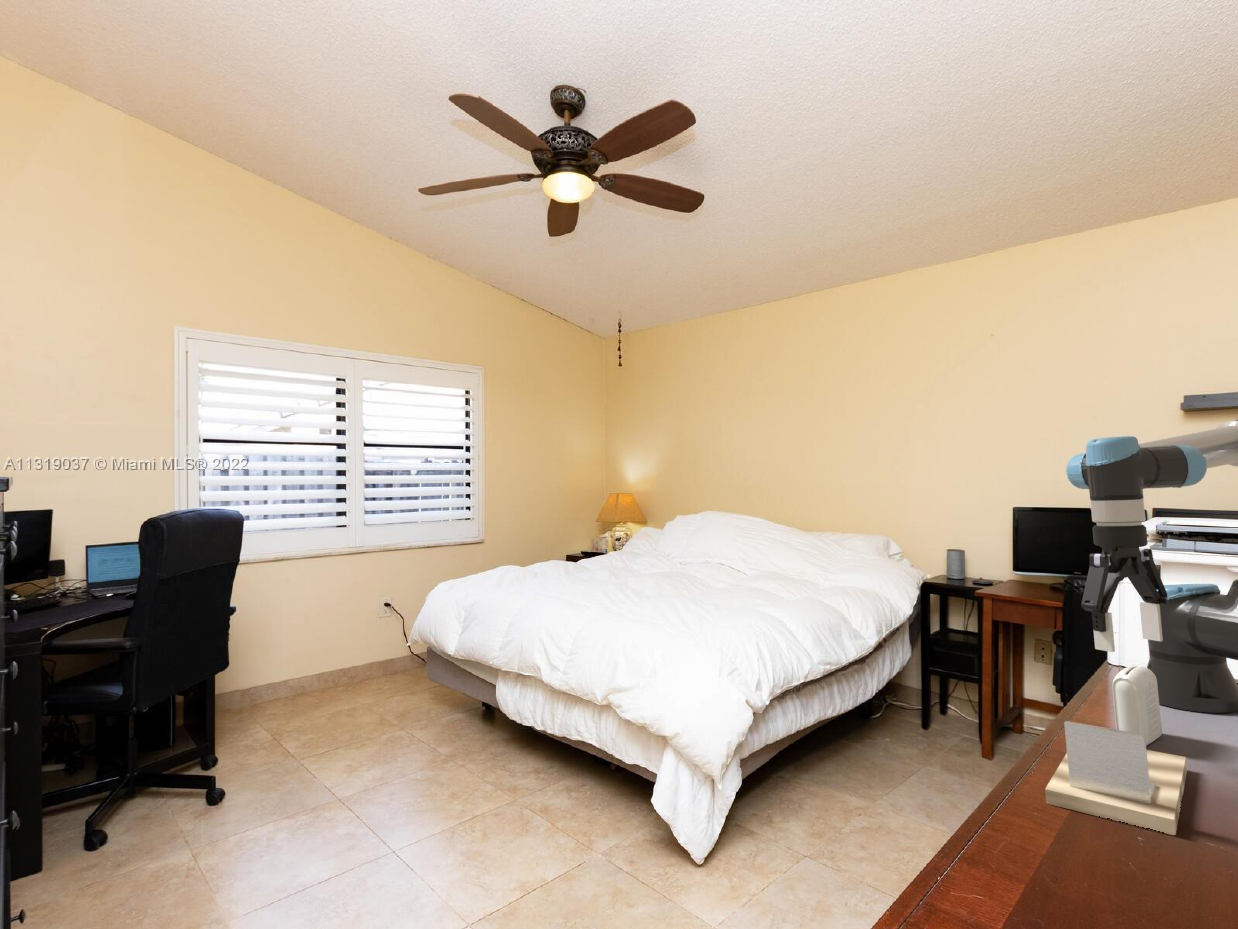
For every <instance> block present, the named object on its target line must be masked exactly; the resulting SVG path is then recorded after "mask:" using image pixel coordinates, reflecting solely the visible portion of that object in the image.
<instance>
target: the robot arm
mask: <svg viewBox="0 0 1238 929" xmlns="http://www.w3.org/2000/svg"><path fill="white" fill-rule="evenodd" d="M1138 440H1139V439H1138V438H1137V437H1136V436H1133V435H1131V436H1130V435H1128V436H1127V435H1126V436H1125V435H1123V436H1122V435H1121V436H1112V437H1111V436H1110V437H1101V438H1099V437H1098V438H1093V439H1091V440H1089V441H1087V443H1086V444H1085V446H1086V447H1085V452H1084V453H1078V454H1075V455H1073V457H1071V458H1069V460H1068V462H1067V465H1066V471H1065V472H1066V476H1067V479H1068V481H1069V482H1070V484H1072V485H1073V486H1074V487H1076V488H1077V489H1081V490H1088V491H1089V500H1090V505H1089V506H1090V507H1089V508H1090V511H1091V521H1092V522H1093V523H1096V524H1095V525H1093V526H1092V537H1093V539H1092V540H1093V544H1094V545H1095V546H1097V547H1100V548H1101V553H1090V554H1089V556H1088V557H1089V568H1088V573H1087V577H1086V581H1085V585H1084V586H1085V587H1084V590H1083V596H1082V600H1081V604H1080V605H1081V609H1083V610H1084V611H1088V612H1090V613H1091V620H1092V621H1091V622H1092V628H1093V639H1094V640H1093V642H1094V649H1095V650H1099V651H1103V652H1109V653H1115V652H1116V648H1115V637H1114V626H1113V623H1114V622H1113V615H1112V612H1108V611H1109V608H1110V607H1111V604H1112V601H1113V598H1114V597H1115V593H1116V591H1117V589H1118V586H1119V584H1120V582H1123V581H1124V579H1126V578H1128V581H1130V583H1131V584H1132V586H1133V588H1134V589H1135V590H1136V592H1137V594H1138V595H1139V596H1140V598H1141V599H1142V601H1141V602H1139V609H1140V610H1139V611H1140V621H1141V630H1142V632H1141V633H1142V639H1143V640H1147V643H1148V645H1147V646H1148V652H1149V653H1148V654H1149V655H1148V656H1149V657H1148V658H1149V659H1148V662H1147V666H1146V668H1148V669H1149V670H1151V671H1152V672H1153V673H1154V674H1155V676H1156V679H1157V686H1158V696H1159V705H1161V706H1166V707H1169V708H1174V709H1179V710H1184V711H1190V712H1200V713H1215V714H1222V713H1223V714H1225V713H1227V714H1228V713H1229V714H1230V713H1237V712H1238V683H1237V682H1236V680H1235V678H1234V676H1233V674H1232V671H1231V669H1230V668H1229V665H1228V660H1227V659H1230V660H1234V661H1238V578H1235V579H1233V581H1232V583H1231V585H1230V587H1229V590H1228V592H1227V594H1224V593H1223V594H1221V590H1220V589H1219V586H1218V585H1217V584H1215V583H1214V584H1213V583H1178V584H1164V583H1163V580H1162V577H1161V575H1160V572H1159V571H1158V568H1157V566H1156V563H1155V560H1154V556H1153V554H1154V553H1153V550H1152V548H1143V547H1147V545H1148V532H1147V526H1145V524H1143V523H1145V521H1146V520H1147V519H1146V511H1145V510H1146V509H1145V501H1144V500H1145V499H1144V489H1164V488H1165V489H1167V488H1168V489H1169V488H1173V489H1174V488H1178V489H1180V488H1181V489H1182V488H1183V487H1191V486H1193V485H1194V486H1195V485H1196V484H1198V483H1199V482H1201V481H1202V480H1203V479H1204V477H1205V476H1206V474H1207V469H1212V468H1216V467H1221V466H1225V465H1229V466H1232V467H1238V419H1235V420H1229V421H1225V422H1223V423H1220V424H1219V425H1218V426H1217V427H1216V428H1214V429H1213V428H1212V429H1208V430H1203V431H1199V432H1193V433H1188V434H1182V435H1178V436H1172V437H1167V438H1161V439H1156V440H1152V441H1146V442H1142V443H1139V441H1138Z"/></svg>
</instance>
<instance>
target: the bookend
mask: <svg viewBox="0 0 1238 929" xmlns="http://www.w3.org/2000/svg"><path fill="white" fill-rule="evenodd" d="M1063 723H1064V724H1063V726H1064V736H1065V744H1066V745H1065V748H1066V753H1067V759H1068V769H1069V780H1070V786H1071V787H1075V788H1080V789H1084V790H1088V791H1093V792H1097V793H1101V794H1106V795H1110V796H1114V797H1119V798H1123V799H1127V800H1132V801H1136V802H1140V803H1145V804H1149V805H1151V803H1152V799H1153V796H1154V792H1155V788H1156V781H1151V780H1150V779H1149V769H1148V760H1147V750H1148V749H1147V745H1146V740H1145V734H1139V733H1133V732H1128V731H1122V730H1116V728H1110V727H1105V726H1104V727H1103V726H1097V725H1093V724H1092V725H1091V724H1087V723H1086V724H1085V723H1080V722H1075V721H1074V722H1073V721H1069V720H1065V721H1064V722H1063Z"/></svg>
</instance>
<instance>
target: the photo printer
mask: <svg viewBox="0 0 1238 929" xmlns="http://www.w3.org/2000/svg"><path fill="white" fill-rule="evenodd" d="M1111 686H1112V697H1113V698H1112V699H1113V708H1114V709H1113V710H1114V720H1115V729H1116V730H1122V731H1128V732H1133V733H1139V734H1145V740H1146V746H1148V745H1150V744H1152V743H1153V742H1154V741H1156V740H1158V738H1160V737H1161V736H1162V733H1163V727H1162V718H1161V708H1160V707H1161V706H1160V704H1159V696H1158V686H1157V679H1156V676H1155V674H1154V673H1153V672H1152V671H1151V670H1149V669H1148V668H1147V666H1146V667H1145V666H1139V665H1130V666H1128V667H1125V668H1123V669H1122V670H1120V671H1119V672H1118V673H1117V674H1116V675H1115V677H1114V678H1113V681H1112V685H1111Z"/></svg>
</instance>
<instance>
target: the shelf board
mask: <svg viewBox="0 0 1238 929" xmlns="http://www.w3.org/2000/svg"><path fill="white" fill-rule="evenodd" d="M1146 750H1147V760H1148V769H1149V779H1150V780H1151V781H1156V788H1155V792H1154V796H1153V799H1152V803H1151V805H1149V804H1145V803H1140V802H1136V801H1132V800H1127V799H1123V798H1119V797H1114V796H1110V795H1106V794H1101V793H1097V792H1093V791H1088V790H1084V789H1080V788H1075V787H1071V786H1070V780H1069V769H1068V759H1067V752H1066V753H1065V755H1064V757H1063V758H1062V760H1061V762H1060V764H1058V765H1059V766H1058V767H1057V768H1056V770H1055V772H1054V773H1053V775H1052V777H1051V779H1050V780H1049V782H1048V783H1047V785H1046V787H1045V788H1044V792H1045V802H1046V803H1045V804H1047V805H1051V806H1056V807H1058V808H1063V809H1068V810H1070V811H1071V810H1072V811H1075V812H1079V813H1082V814H1083V813H1084V814H1088V815H1092V816H1095V817H1099V816H1100V817H1099V818H1103V819H1107V818H1110V819H1109V820H1111V819H1112V820H1111V821H1115V822H1119V821H1121V822H1120V823H1122V822H1125V823H1124V824H1126V823H1128V824H1127V825H1132V826H1134V825H1136V826H1135V827H1138V826H1139V828H1142V827H1144V828H1143V829H1146V828H1150V829H1153V830H1152V831H1154V830H1156V831H1155V832H1158V831H1160V833H1162V832H1164V834H1167V835H1170V836H1174V835H1177V830H1178V824H1179V819H1180V814H1179V813H1180V812H1181V808H1180V807H1182V802H1181V801H1183V797H1182V796H1183V795H1184V790H1185V785H1186V780H1187V774H1188V764H1187V757H1186V756H1184V755H1183V756H1182V755H1176V754H1172V753H1166V752H1161V751H1156V750H1155V751H1154V750H1151V749H1146ZM1150 829H1149V830H1150Z"/></svg>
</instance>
